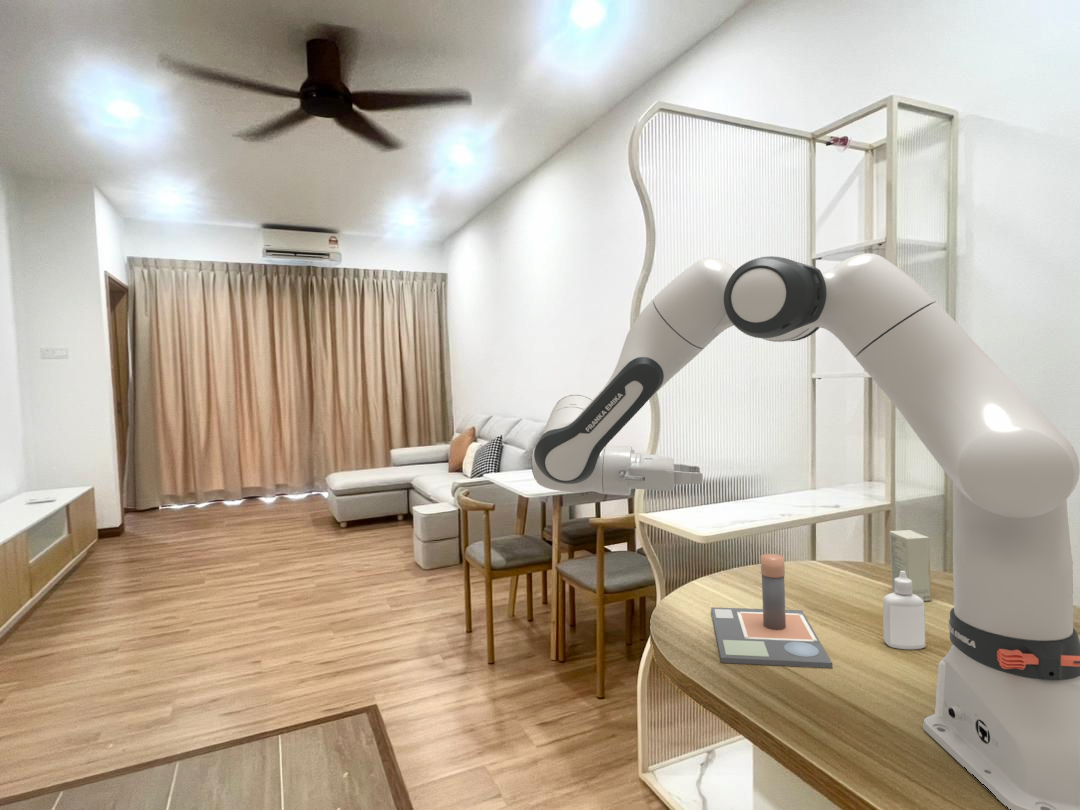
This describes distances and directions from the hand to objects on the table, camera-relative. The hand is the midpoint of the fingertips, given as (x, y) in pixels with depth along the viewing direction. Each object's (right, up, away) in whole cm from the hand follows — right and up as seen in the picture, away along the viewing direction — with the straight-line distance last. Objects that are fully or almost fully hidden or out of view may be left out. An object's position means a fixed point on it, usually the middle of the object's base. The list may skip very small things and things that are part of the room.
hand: (700, 474), depth 104 cm
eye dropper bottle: (+30, -26, -9) cm, 41 cm away
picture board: (+10, -27, -4) cm, 29 cm away
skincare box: (+44, -25, +11) cm, 51 cm away
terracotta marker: (+12, -26, -2) cm, 29 cm away
